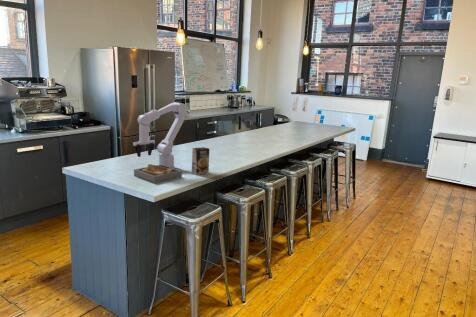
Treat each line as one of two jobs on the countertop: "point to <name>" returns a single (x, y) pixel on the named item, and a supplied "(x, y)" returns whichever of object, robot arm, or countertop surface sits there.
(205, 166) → the coffee box
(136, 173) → the charcoal crate
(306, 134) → the countertop surface
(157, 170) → the pine crate
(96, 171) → the countertop surface
